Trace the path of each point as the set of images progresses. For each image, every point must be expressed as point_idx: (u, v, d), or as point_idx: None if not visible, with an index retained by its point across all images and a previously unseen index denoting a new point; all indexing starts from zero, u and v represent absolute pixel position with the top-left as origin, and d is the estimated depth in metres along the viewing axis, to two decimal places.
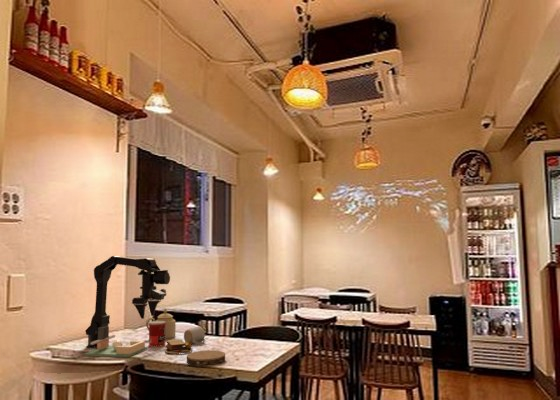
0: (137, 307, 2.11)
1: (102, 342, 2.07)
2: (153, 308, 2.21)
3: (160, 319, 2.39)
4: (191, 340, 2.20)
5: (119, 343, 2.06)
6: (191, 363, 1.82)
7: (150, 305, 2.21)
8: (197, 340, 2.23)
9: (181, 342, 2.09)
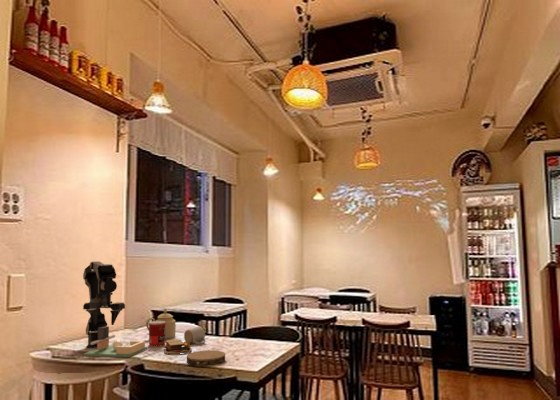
0: None
1: (102, 342, 2.07)
2: None
3: (160, 319, 2.39)
4: (191, 340, 2.20)
5: (119, 343, 2.06)
6: (191, 363, 1.82)
7: None
8: (197, 340, 2.22)
9: (180, 342, 2.08)
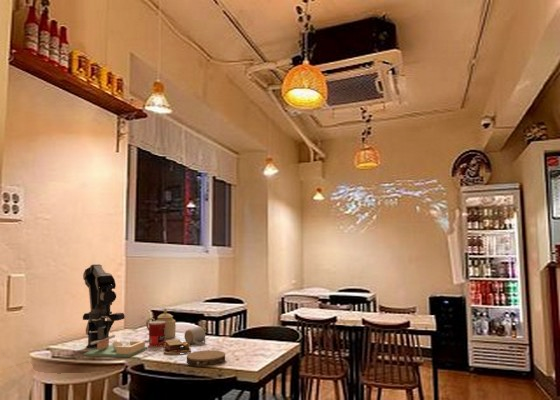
0: None
1: (102, 342, 2.07)
2: None
3: (160, 319, 2.39)
4: (192, 340, 2.20)
5: (119, 343, 2.06)
6: (191, 363, 1.82)
7: None
8: (198, 340, 2.22)
9: (179, 342, 2.08)
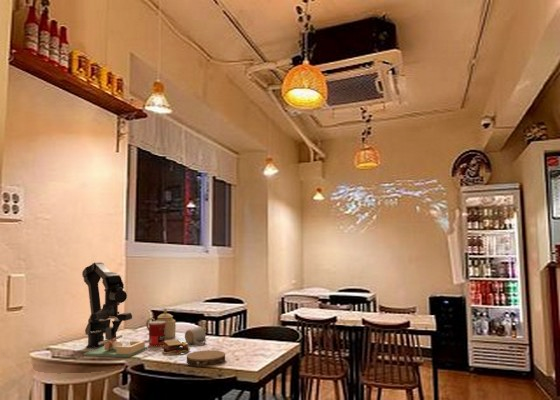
0: None
1: (110, 342, 2.06)
2: None
3: (160, 319, 2.39)
4: (192, 340, 2.20)
5: (119, 343, 2.06)
6: (191, 363, 1.82)
7: None
8: (198, 340, 2.22)
9: (178, 342, 2.08)
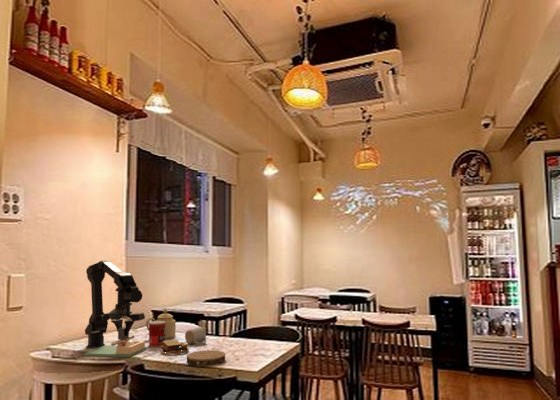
0: None
1: (122, 343, 2.05)
2: None
3: (160, 319, 2.39)
4: (192, 340, 2.19)
5: None
6: (191, 363, 1.82)
7: None
8: (198, 340, 2.22)
9: (177, 343, 2.08)
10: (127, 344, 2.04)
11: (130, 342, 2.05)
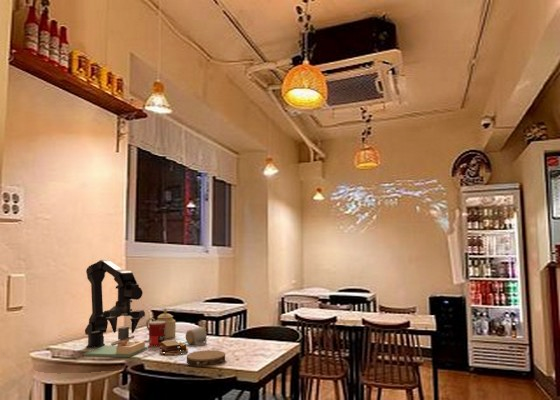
0: None
1: (122, 343, 2.05)
2: None
3: (160, 319, 2.39)
4: (193, 340, 2.19)
5: None
6: (191, 363, 1.82)
7: None
8: (199, 340, 2.21)
9: (176, 343, 2.07)
10: (128, 344, 2.04)
11: (132, 343, 2.05)
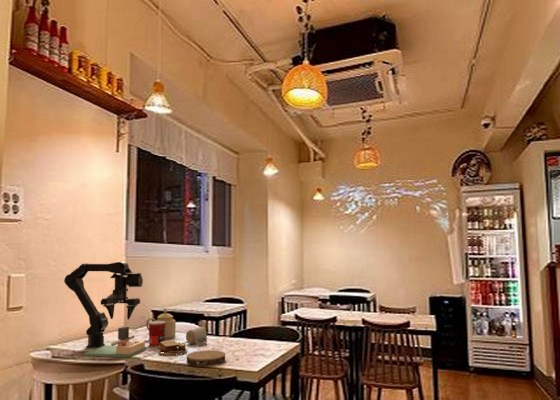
0: None
1: (122, 343, 2.05)
2: None
3: (160, 319, 2.39)
4: (193, 341, 2.19)
5: None
6: (191, 363, 1.82)
7: None
8: (199, 341, 2.21)
9: (175, 343, 2.07)
10: (128, 344, 2.04)
11: (131, 342, 2.05)
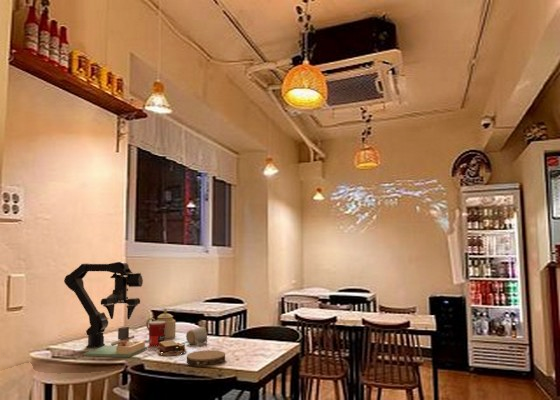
0: None
1: (122, 343, 2.05)
2: None
3: (160, 319, 2.39)
4: (194, 341, 2.19)
5: None
6: (191, 363, 1.82)
7: None
8: (200, 341, 2.21)
9: (174, 343, 2.06)
10: (128, 344, 2.04)
11: (131, 342, 2.05)
